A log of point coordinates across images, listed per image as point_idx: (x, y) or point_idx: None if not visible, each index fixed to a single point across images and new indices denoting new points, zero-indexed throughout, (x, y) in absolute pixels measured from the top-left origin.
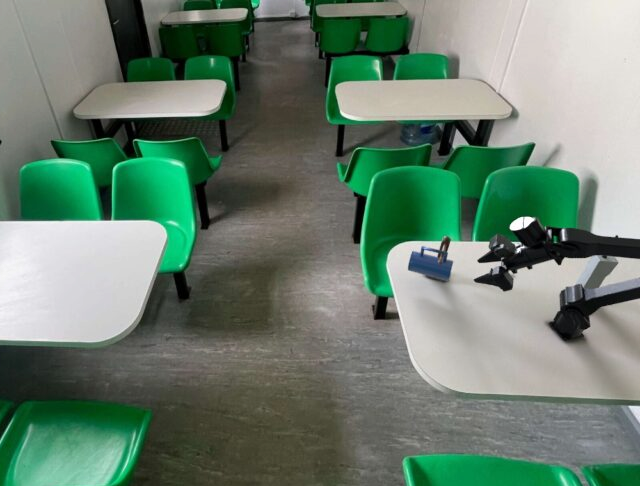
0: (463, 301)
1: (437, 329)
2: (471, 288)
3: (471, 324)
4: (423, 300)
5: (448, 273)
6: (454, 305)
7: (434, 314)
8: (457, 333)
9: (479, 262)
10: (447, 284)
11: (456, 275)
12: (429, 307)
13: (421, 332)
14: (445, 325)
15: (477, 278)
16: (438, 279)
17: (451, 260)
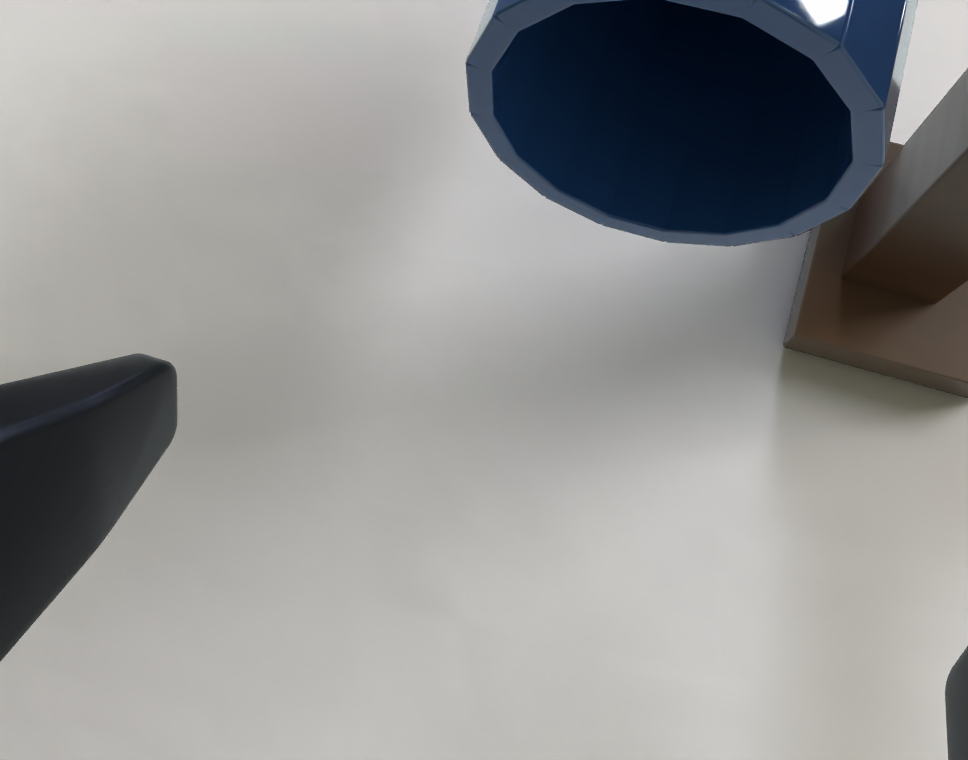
0: (483, 525)
1: (51, 191)
2: (743, 677)
3: (133, 548)
4: (429, 99)
5: (492, 8)
6: (402, 408)
7: (244, 184)
8: (5, 374)
9: (958, 690)
10: (745, 380)
11: (954, 521)
12: (336, 147)
13: (11, 51)
14: (105, 272)
15: (43, 385)
16: (800, 279)
17: (837, 1)
